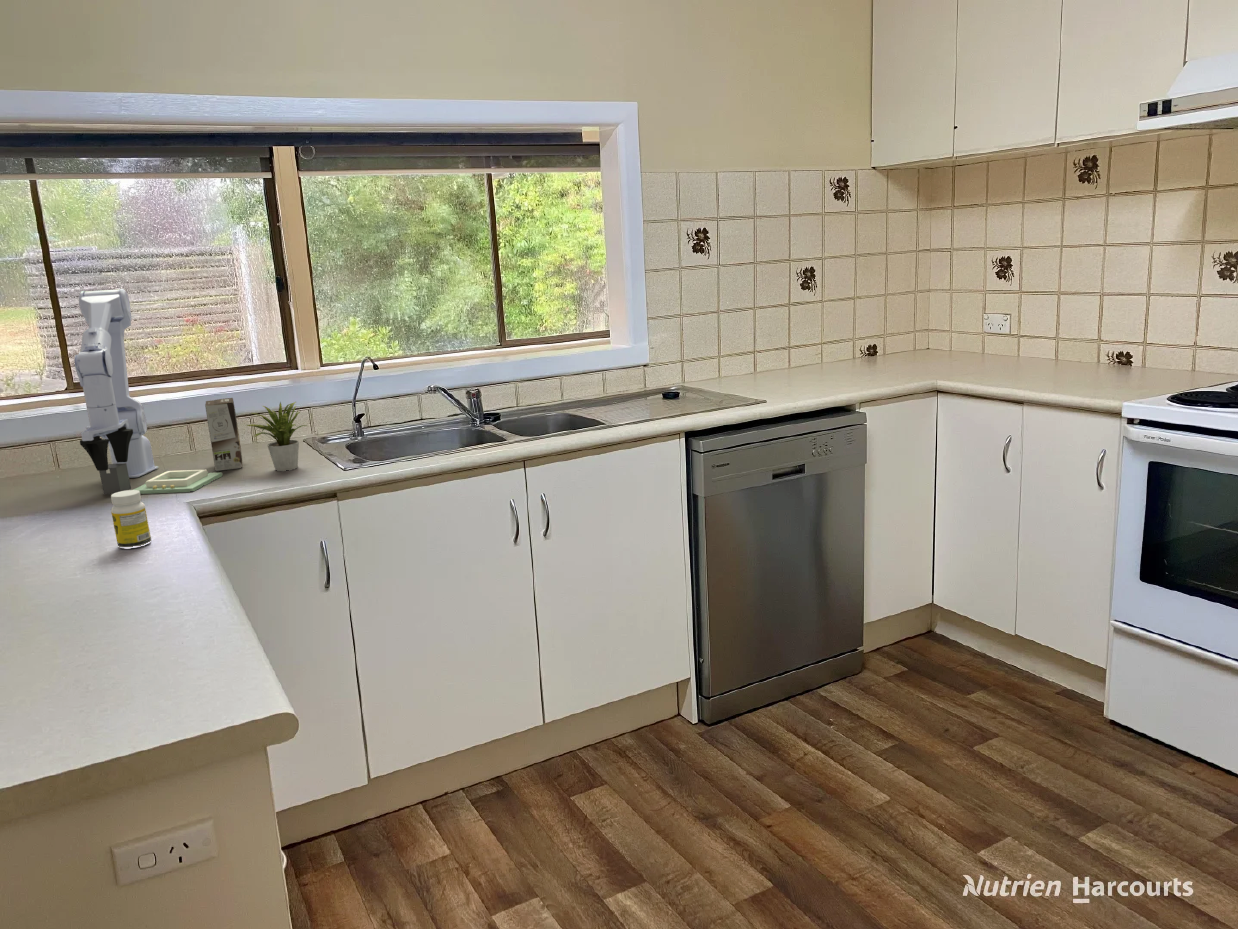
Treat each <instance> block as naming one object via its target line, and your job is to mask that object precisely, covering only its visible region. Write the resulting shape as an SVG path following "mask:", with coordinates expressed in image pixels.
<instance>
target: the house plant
mask: <svg viewBox="0 0 1238 929" xmlns="http://www.w3.org/2000/svg"><path fill="white" fill-rule="evenodd" d="M296 403H297V401H294V402H292V403H289V404H287V405H286V406H285V407H284V409H283V405H282V402H281V401H280V402H279V407H278V411H277V412H278V414H277V412H276V411H274V410H271V409H270V408H269V407H268V406H265V405H262V407H264V408H265V410H266V411H267V412H268V415H269V417H270V418H271V419H270V418H268V417H267V416H265V415H261V414H259V413H257V412H252V414H254V415H256V416H259V418H261V419H262V420H263V421H264V422H265V424H266V425H264V424H258V423H257V424H246V426H247V427H253V428H257V431H259V432H258V433H255V434H254V435H253V438H256V437H257V436H259V435H266V436H267V437H268V438H270V439H271V440H274V441H273V442H269V443H267V448H268V451H269V455H270V457H271V460H272V464H273V468H274V470H275V471H276V470H277V471H276V472H287V471H286V470H289V471H293V470H292V469H294V470H296V469H295V468H297V467H298V468H299V447H300V446H299V445H300V444H299V443H300V441H299V440H297V439H291V437H292V436H293V434H294V432H295V431H297V429H299V428H301V427H308V425H306V424H305V425H298V426H297V425H296V423H294V421H295V420H296V419H297V417H298V416H299V415H298V414H300V413H301V411H299V410H300V407H299V409H297V411H296V413H295V414H294V412H295V410H296V407H297V405H295V404H296ZM293 415H294V416H293ZM294 426H295V427H296V428H293V427H294ZM258 429H260V430H261V431H260V430H258ZM265 431H268V432H265ZM271 437H272V438H271ZM298 468H297V469H298Z"/></svg>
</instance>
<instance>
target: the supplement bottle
mask: <svg viewBox="0 0 1238 929" xmlns="http://www.w3.org/2000/svg"><path fill="white" fill-rule="evenodd" d="M110 498H111V503H112V508H111V509H110V510H111V518H112V524H113V527H114V534H115V538H116V543H117V547H118V546H119V547H133V546H141V545H144V544H146V543H148V542H150V541H151V542H152V536H151V531H150V526H149V520H148V514H147V510H146V505H145V503H143V501H142V497H141V494H140V491H138V490H134V489H130V490H126V491H121V492H117V493H114V494H110ZM119 547H118V548H119Z"/></svg>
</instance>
